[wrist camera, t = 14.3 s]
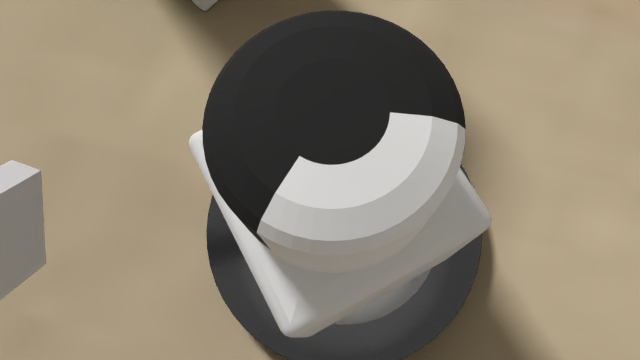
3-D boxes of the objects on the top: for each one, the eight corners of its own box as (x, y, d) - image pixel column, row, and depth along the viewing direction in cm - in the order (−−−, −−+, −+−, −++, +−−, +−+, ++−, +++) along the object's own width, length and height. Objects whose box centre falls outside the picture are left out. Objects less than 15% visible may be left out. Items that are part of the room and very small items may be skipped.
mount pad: (170, 309, 23) (161, 308, 22) (270, 80, 26) (267, 68, 25) (430, 413, 21) (435, 417, 20) (504, 155, 25) (513, 146, 23)
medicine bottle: (229, 194, 23) (118, 55, 12) (367, 121, 24) (390, -75, 13) (303, 340, 21) (257, 345, 10) (451, 257, 22) (569, 170, 11)
